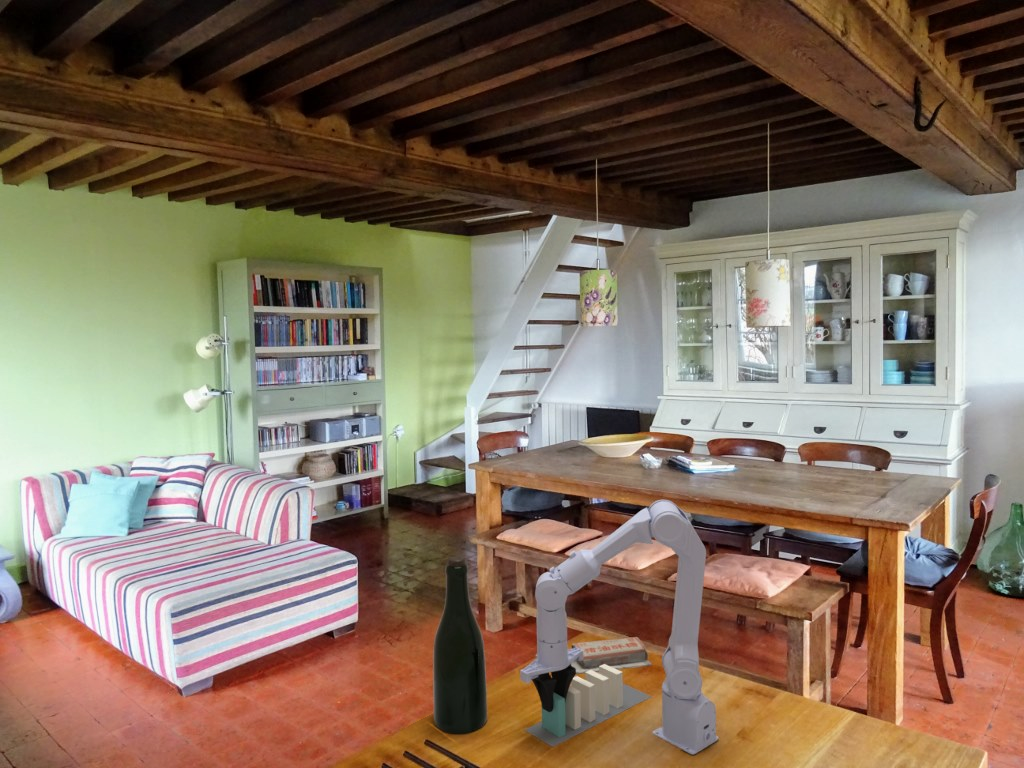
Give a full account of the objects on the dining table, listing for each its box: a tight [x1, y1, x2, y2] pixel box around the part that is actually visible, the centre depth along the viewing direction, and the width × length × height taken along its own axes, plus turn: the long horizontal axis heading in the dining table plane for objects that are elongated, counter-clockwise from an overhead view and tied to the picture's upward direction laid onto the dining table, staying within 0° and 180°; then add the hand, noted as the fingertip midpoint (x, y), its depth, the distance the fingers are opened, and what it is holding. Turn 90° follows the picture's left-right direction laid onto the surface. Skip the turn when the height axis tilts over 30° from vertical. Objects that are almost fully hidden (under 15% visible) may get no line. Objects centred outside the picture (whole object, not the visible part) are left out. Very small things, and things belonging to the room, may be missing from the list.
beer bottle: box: [432, 555, 488, 735], centre depth 145 cm, size 10×10×33 cm
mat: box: [524, 683, 652, 748], centre depth 148 cm, size 8×28×1 cm, turn 130°
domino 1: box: [541, 693, 565, 737], centre depth 141 cm, size 2×5×7 cm, turn 37°
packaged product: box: [571, 636, 653, 675], centre depth 171 cm, size 18×5×10 cm
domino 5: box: [598, 664, 624, 708], centre depth 152 cm, size 2×5×7 cm, turn 40°
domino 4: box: [584, 670, 609, 715], centre depth 149 cm, size 2×5×7 cm, turn 39°
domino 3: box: [570, 675, 595, 722], centre depth 146 cm, size 2×5×7 cm, turn 40°
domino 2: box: [565, 685, 581, 729], centre depth 144 cm, size 2×5×7 cm, turn 40°
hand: (553, 706), depth 141 cm, fingers open, 3 cm apart
